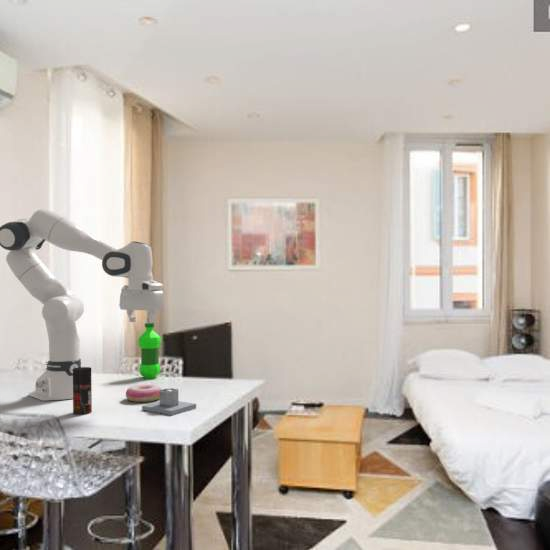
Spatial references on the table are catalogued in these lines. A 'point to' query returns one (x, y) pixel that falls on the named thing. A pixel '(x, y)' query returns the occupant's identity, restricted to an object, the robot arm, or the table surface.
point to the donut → (143, 393)
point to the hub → (168, 397)
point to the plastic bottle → (149, 352)
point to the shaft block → (169, 410)
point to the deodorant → (82, 391)
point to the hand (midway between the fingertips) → (141, 322)
